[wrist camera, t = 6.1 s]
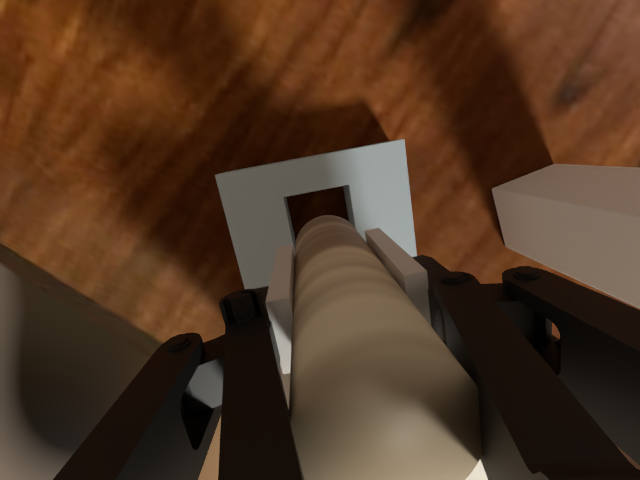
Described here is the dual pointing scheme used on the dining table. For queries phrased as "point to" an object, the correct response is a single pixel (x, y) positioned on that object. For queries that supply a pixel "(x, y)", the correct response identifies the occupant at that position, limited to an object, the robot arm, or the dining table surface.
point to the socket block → (307, 176)
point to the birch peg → (371, 371)
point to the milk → (577, 223)
